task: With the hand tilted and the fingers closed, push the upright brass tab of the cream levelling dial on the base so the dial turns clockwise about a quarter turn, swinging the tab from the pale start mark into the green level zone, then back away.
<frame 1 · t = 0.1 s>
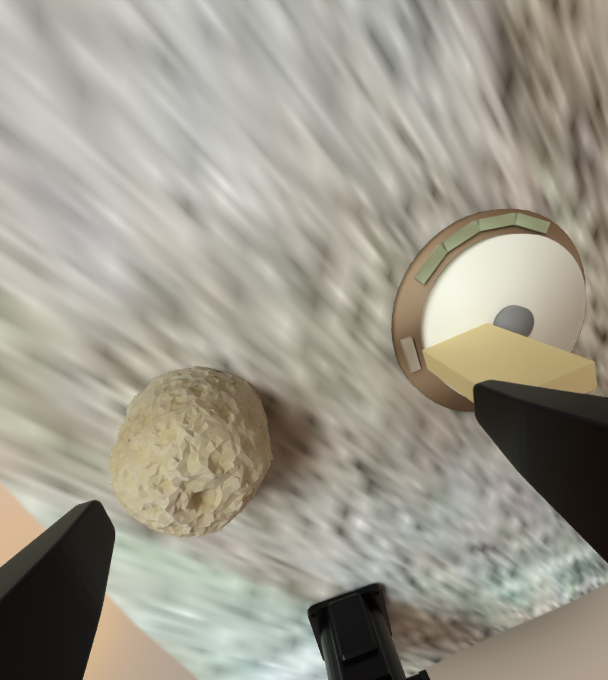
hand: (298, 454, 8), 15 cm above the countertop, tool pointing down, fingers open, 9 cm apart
dial: (544, 338, 20), point 5 cm above the countertop, hinge at 0.0°
sponge: (201, 425, 24), on the countertop
base: (486, 315, 25), on the countertop
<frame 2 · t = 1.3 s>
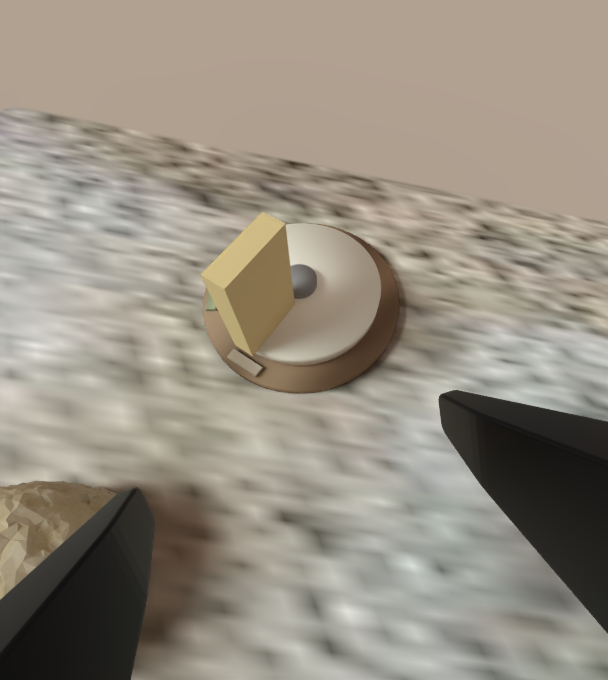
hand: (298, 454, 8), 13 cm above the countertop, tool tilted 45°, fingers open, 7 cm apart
dial: (294, 257, 21), point 5 cm above the countertop, hinge at 0.0°
sponge: (70, 575, 19), on the countertop
base: (300, 302, 26), on the countertop
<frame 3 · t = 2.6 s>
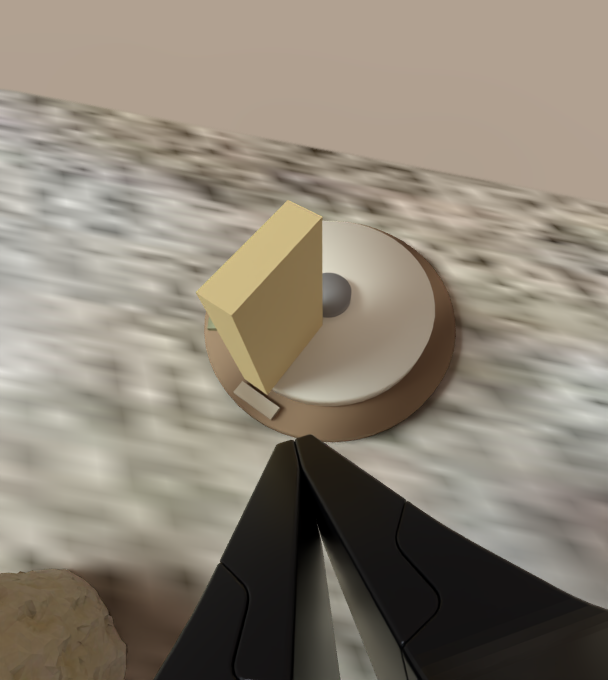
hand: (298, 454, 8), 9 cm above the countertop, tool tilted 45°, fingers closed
dial: (325, 264, 16), point 5 cm above the countertop, hinge at 0.0°
base: (327, 319, 21), on the countertop
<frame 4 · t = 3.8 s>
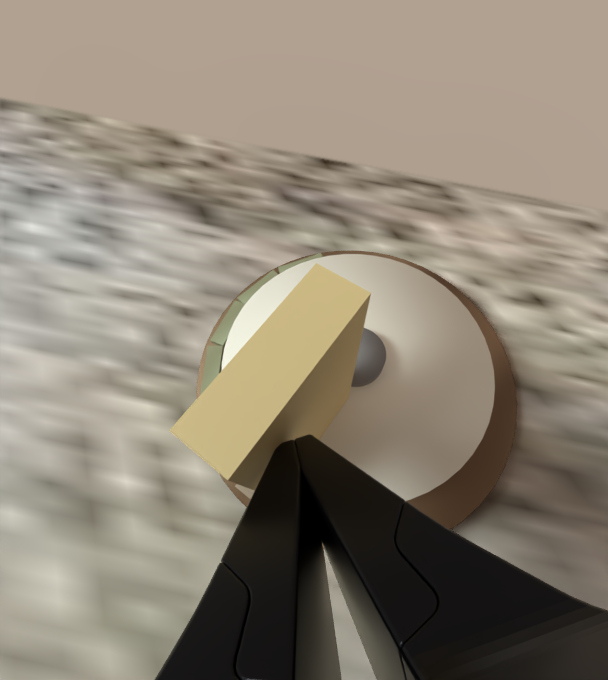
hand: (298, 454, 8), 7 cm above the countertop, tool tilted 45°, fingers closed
dial: (357, 328, 12), point 5 cm above the countertop, hinge at -1.1°, touching gripper
base: (350, 378, 17), on the countertop
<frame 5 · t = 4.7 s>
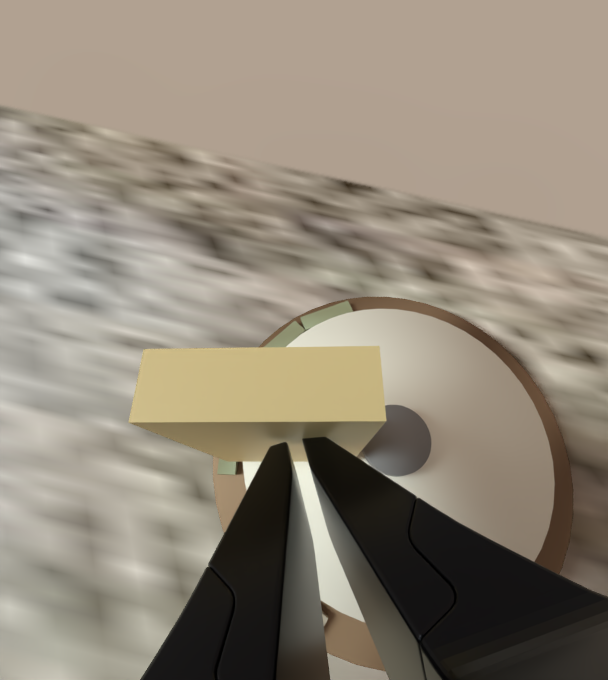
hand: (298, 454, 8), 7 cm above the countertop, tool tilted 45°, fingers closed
dial: (403, 425, 10), point 5 cm above the countertop, hinge at -54.9°, touching gripper
base: (382, 449, 15), on the countertop
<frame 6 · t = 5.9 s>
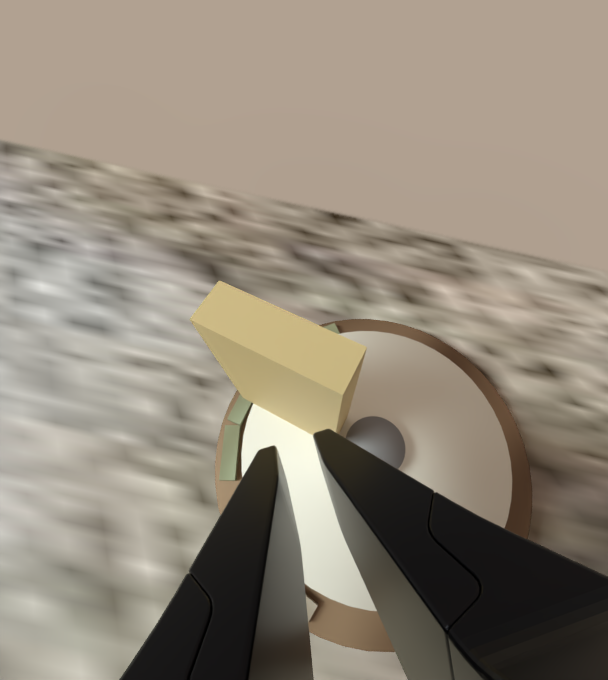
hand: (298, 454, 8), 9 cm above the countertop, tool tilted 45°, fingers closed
dial: (377, 430, 12), point 5 cm above the countertop, hinge at -83.6°
base: (366, 456, 17), on the countertop
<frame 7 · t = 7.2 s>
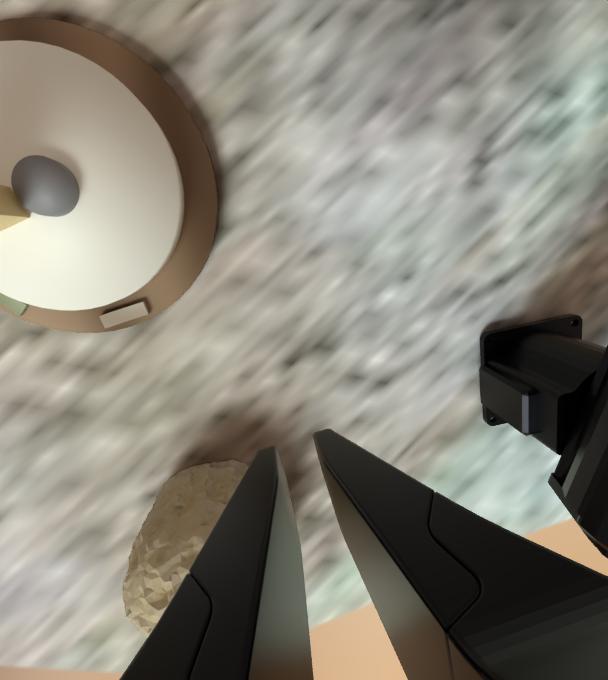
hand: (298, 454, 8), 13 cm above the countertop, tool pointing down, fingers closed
sponge: (219, 514, 24), on the countertop
base: (76, 194, 18), on the countertop
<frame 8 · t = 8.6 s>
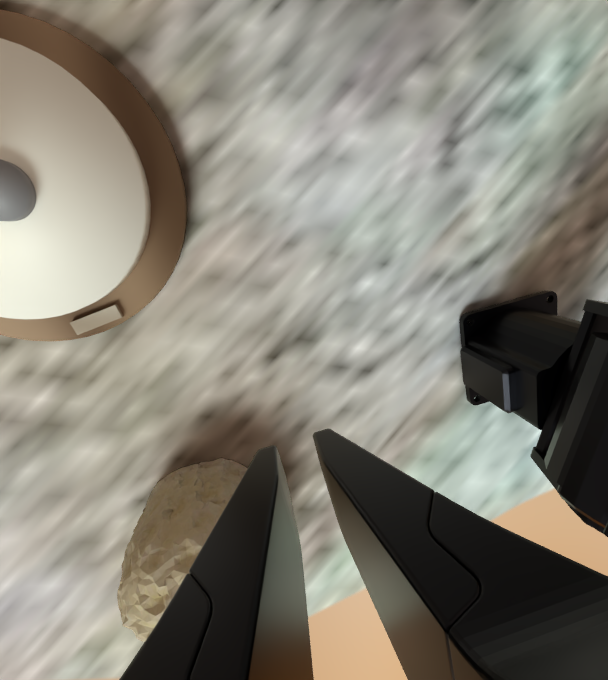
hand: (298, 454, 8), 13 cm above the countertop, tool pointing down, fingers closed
sponge: (212, 513, 24), on the countertop
base: (34, 196, 17), on the countertop
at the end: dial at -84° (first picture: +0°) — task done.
